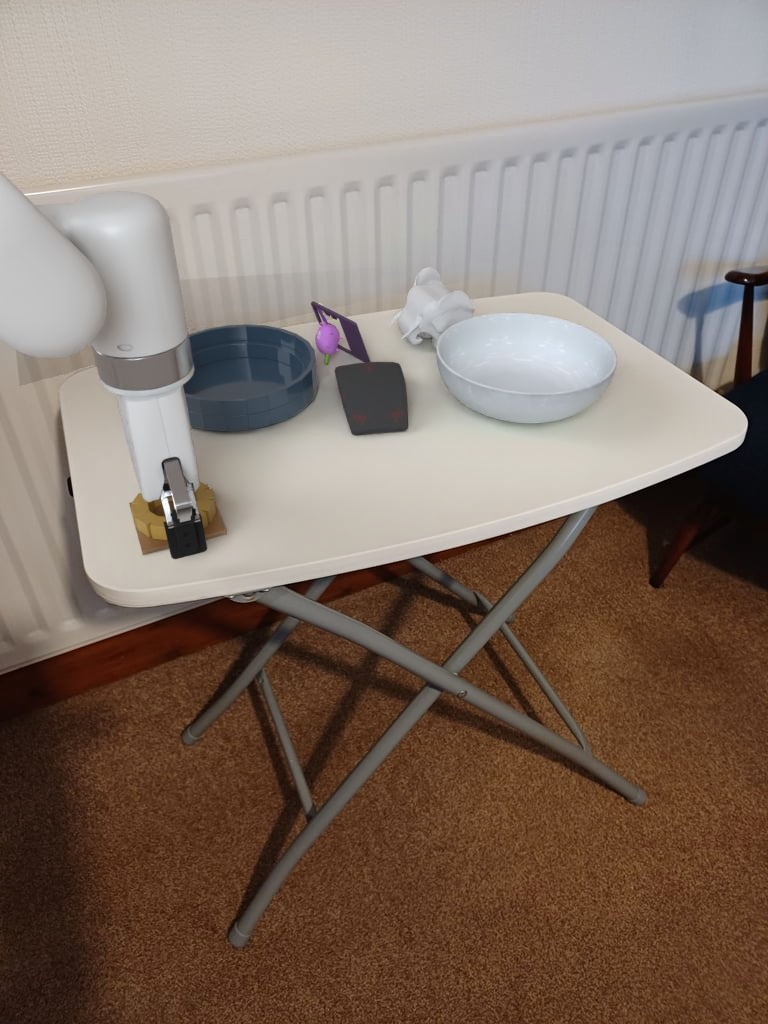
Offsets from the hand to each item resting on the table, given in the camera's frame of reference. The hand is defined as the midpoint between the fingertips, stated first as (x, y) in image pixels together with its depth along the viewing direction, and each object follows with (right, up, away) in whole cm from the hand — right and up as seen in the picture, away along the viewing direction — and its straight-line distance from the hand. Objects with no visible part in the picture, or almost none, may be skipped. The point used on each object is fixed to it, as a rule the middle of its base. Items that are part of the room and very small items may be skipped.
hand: (178, 521), depth 74 cm
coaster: (-1, 0, +4) cm, 4 cm away
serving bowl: (+36, +14, +22) cm, 44 cm away
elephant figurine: (+26, +24, +34) cm, 49 cm away
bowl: (+2, +16, +23) cm, 28 cm away
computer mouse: (+18, +14, +21) cm, 31 cm away
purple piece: (+13, +21, +30) cm, 39 cm away
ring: (-1, +1, +4) cm, 4 cm away
